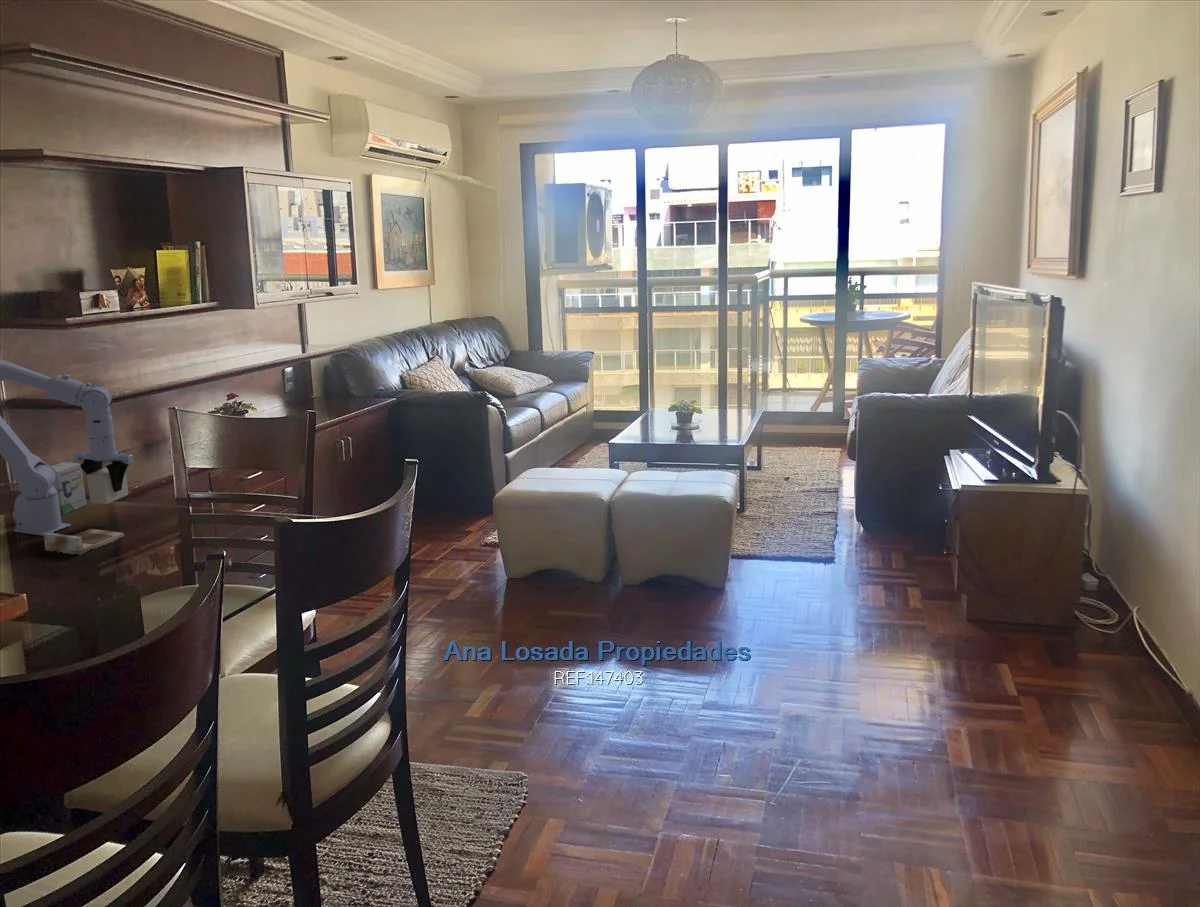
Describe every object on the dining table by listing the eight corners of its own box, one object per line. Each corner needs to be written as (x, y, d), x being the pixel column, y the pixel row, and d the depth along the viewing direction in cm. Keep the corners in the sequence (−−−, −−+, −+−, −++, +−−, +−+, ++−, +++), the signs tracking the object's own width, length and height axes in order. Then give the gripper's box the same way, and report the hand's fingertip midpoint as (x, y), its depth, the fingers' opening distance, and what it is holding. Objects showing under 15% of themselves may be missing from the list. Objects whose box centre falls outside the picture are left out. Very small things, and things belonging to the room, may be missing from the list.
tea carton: (89, 502, 228) (85, 475, 226) (111, 493, 236) (108, 466, 234) (107, 503, 227) (103, 476, 226) (128, 494, 235) (125, 467, 233)
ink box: (70, 504, 249) (64, 461, 246) (87, 505, 248) (81, 462, 245) (46, 514, 241) (39, 469, 238) (63, 515, 240) (57, 470, 237)
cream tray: (45, 550, 215) (42, 533, 214) (91, 532, 227) (88, 516, 226) (79, 555, 212) (77, 538, 211) (124, 536, 224) (122, 521, 223)
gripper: (138, 434, 230) (145, 487, 234) (85, 431, 232) (92, 483, 236) (119, 440, 223) (126, 495, 227) (65, 437, 226) (72, 491, 229)
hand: (108, 490), depth 231 cm, fingers closed on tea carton, 5 cm apart
